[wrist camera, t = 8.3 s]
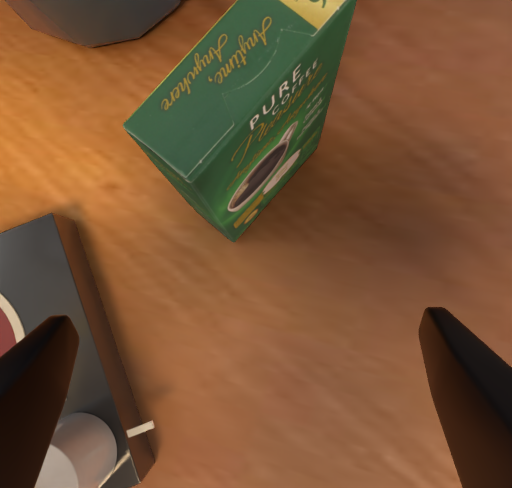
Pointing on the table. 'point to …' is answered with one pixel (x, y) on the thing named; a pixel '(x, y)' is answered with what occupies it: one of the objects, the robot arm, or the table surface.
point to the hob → (87, 325)
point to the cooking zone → (9, 326)
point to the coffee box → (245, 106)
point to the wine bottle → (93, 18)
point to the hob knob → (79, 454)
